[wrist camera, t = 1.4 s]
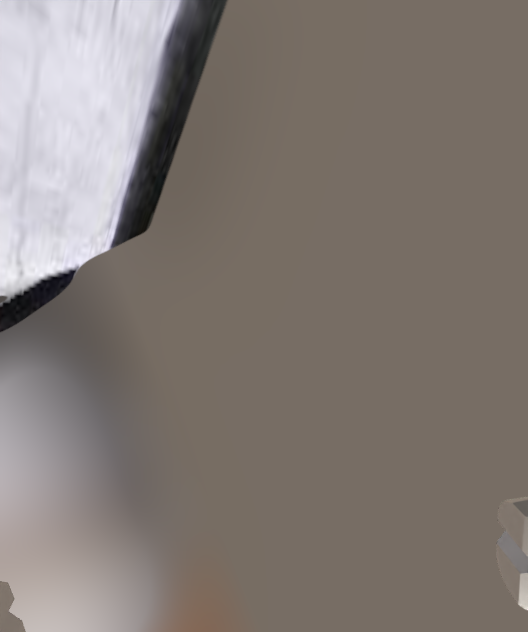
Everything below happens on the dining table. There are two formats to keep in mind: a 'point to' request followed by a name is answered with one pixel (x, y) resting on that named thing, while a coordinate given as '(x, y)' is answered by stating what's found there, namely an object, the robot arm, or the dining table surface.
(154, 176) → the dining table surface
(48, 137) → the dining table surface
